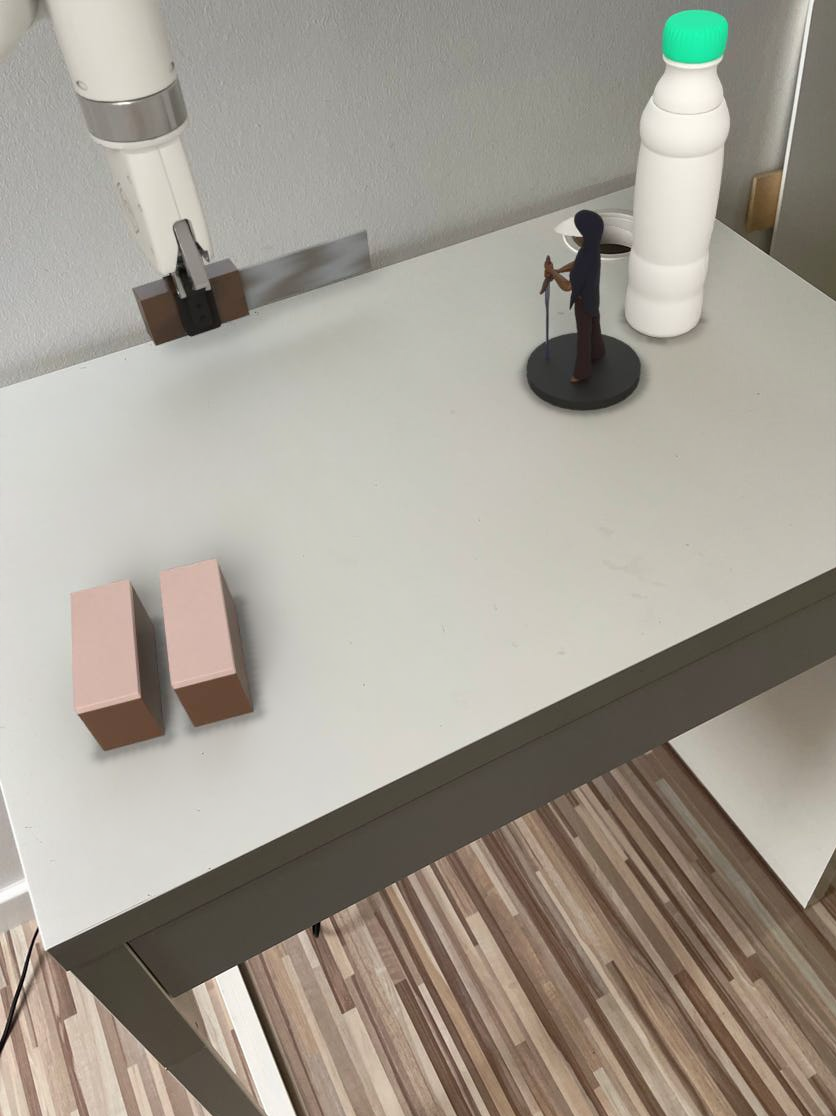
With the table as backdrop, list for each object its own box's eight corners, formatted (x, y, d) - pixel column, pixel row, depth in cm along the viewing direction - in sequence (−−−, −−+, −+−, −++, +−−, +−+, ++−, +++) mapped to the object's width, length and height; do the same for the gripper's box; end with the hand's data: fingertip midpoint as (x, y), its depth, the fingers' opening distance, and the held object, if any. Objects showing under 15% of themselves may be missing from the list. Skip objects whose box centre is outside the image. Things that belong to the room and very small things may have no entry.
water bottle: (679, 349, 85) (721, 44, 65) (610, 327, 87) (631, 27, 68) (712, 310, 88) (762, 8, 69) (645, 290, 91) (674, -6, 71)
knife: (155, 346, 83) (140, 301, 80) (147, 333, 85) (131, 287, 81) (376, 273, 90) (370, 228, 86) (365, 261, 91) (359, 216, 87)
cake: (98, 638, 68) (70, 592, 64) (235, 604, 69) (216, 557, 65) (103, 752, 62) (73, 709, 58) (253, 712, 63) (234, 667, 59)
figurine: (552, 331, 88) (554, 170, 76) (655, 354, 85) (674, 191, 73) (508, 394, 82) (503, 231, 70) (616, 421, 79) (629, 256, 67)
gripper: (56, 81, 74) (131, 292, 88) (117, 163, 65) (189, 381, 80) (148, 59, 76) (206, 269, 90) (218, 135, 67) (270, 353, 82)
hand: (197, 320), depth 85 cm, fingers closed on knife, 2 cm apart
